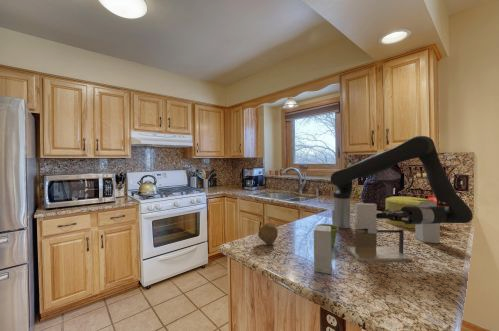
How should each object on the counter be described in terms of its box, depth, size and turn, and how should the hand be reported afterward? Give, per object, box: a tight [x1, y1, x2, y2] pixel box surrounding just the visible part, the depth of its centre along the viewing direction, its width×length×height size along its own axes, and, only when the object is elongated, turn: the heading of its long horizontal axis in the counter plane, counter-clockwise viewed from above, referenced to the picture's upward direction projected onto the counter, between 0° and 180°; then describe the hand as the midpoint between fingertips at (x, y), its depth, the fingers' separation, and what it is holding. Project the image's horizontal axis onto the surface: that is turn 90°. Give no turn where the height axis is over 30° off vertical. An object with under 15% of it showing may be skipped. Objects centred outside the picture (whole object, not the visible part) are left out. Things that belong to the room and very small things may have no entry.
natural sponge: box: [257, 222, 279, 246], centre depth 105 cm, size 9×9×10 cm
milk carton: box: [414, 201, 441, 244], centre depth 111 cm, size 7×7×19 cm
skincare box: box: [313, 224, 333, 275], centre depth 83 cm, size 8×6×15 cm
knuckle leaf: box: [354, 203, 378, 234], centre depth 94 cm, size 8×3×12 cm, turn 90°
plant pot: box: [318, 223, 340, 248], centre depth 104 cm, size 9×9×9 cm
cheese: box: [385, 195, 435, 229], centre depth 142 cm, size 26×26×15 cm
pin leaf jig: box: [345, 228, 414, 262], centre depth 94 cm, size 21×12×11 cm, turn 90°
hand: (375, 215), depth 94 cm, fingers closed
